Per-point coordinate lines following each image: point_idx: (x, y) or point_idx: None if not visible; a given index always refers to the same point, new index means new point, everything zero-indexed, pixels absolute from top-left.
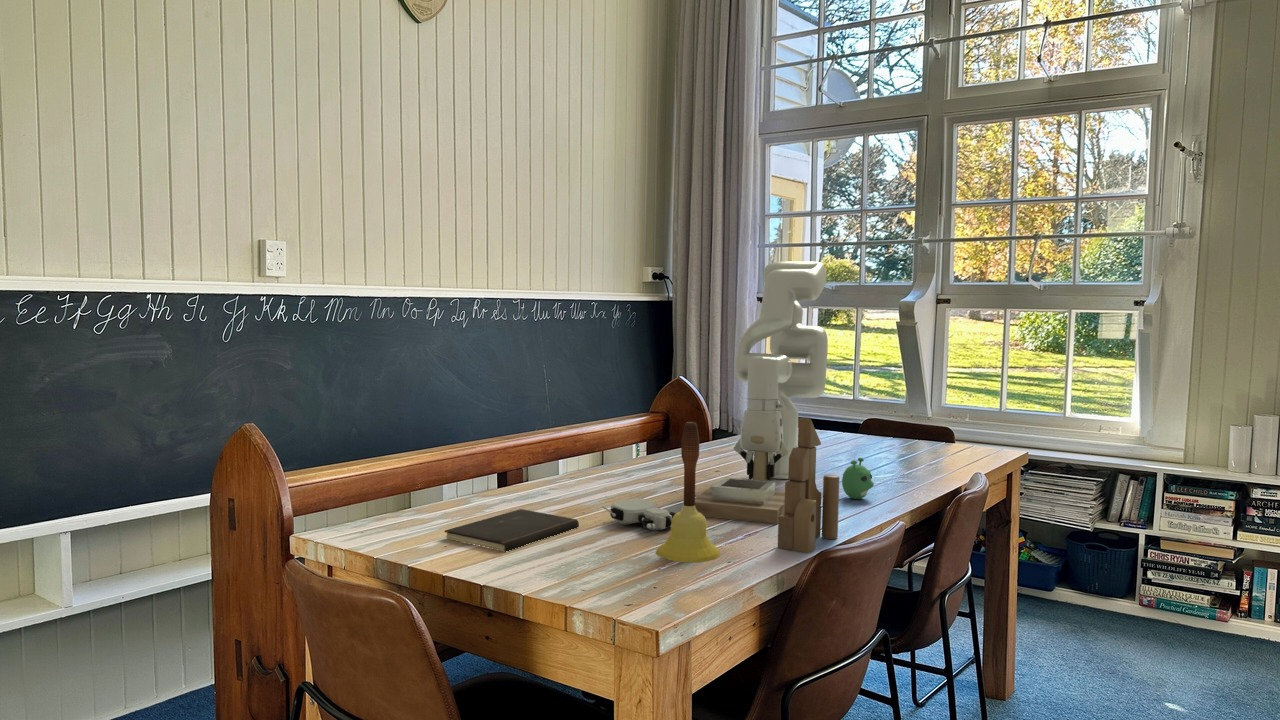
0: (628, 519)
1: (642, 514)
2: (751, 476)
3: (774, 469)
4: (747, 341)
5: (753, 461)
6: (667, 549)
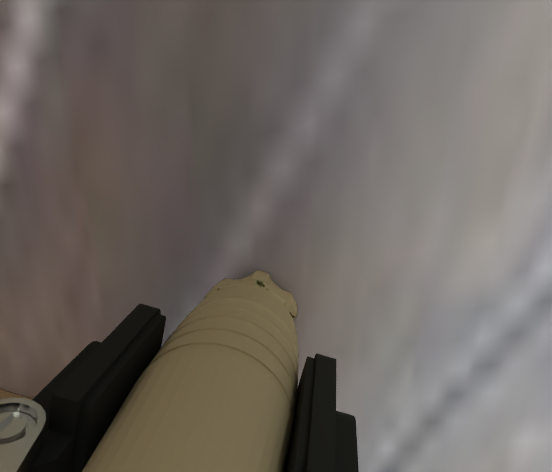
0: None
1: None
2: None
3: (355, 466)
4: None
5: (72, 413)
6: None
